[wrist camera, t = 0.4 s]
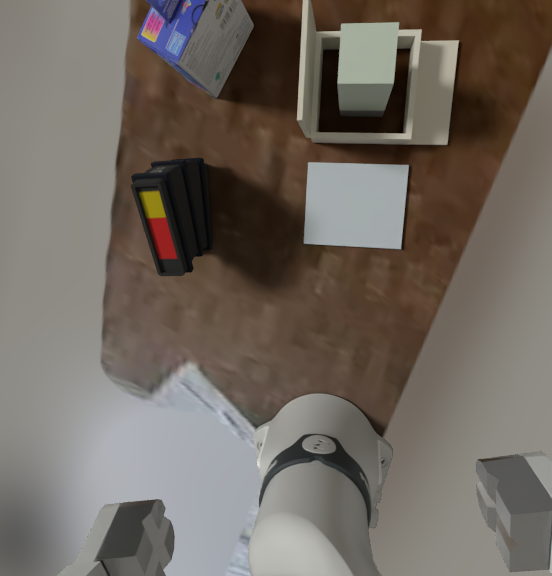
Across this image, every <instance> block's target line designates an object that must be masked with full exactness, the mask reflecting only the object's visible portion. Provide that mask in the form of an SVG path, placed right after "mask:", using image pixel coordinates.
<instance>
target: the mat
mask: <svg viewBox="0 0 552 576" xmlns="http://www.w3.org/2000/svg"><path fill="white" fill-rule="evenodd" d="M408 170H409V165H387V164H350V163H312V162H308V176H307V194H306V211H305V229H304V244H317V245H335V246H353V247H371V248H388V249H401V243H402V233H403V222H404V212H405V201H406V191H407V180H408Z"/></svg>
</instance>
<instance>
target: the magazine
mask: <svg viewBox="0 0 552 576" xmlns="http://www.w3.org/2000/svg"><path fill="white" fill-rule="evenodd" d="M151 166H152V168H151V169H149V170H147V171H146V172H145V173H140V174H133V175H132V176H131V178H132V181H133V184H132V185H131V188H132V191H133V195H134V198H135V201H136V204H137V208H138V211H139V214H140V217H141V220H142V224H143V227H144V230H145V233H146V237H147V240H148V243H149V246H150V249H151V253H152V256H153V259H154V262H155V265H156V269H157V272H158V274H159V275H160V276H183V275H184V274H185V272H192V270H193V265H192V260H193V258H194V257H196V256H202V255H203V252H202V250H212V248H211V246H212V237H211V220H210V204H209V188H208V172H207V164H205V163H204V160H203V159H202V158H191V159H176V160H172V161H157V162H153V163H151Z"/></svg>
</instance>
